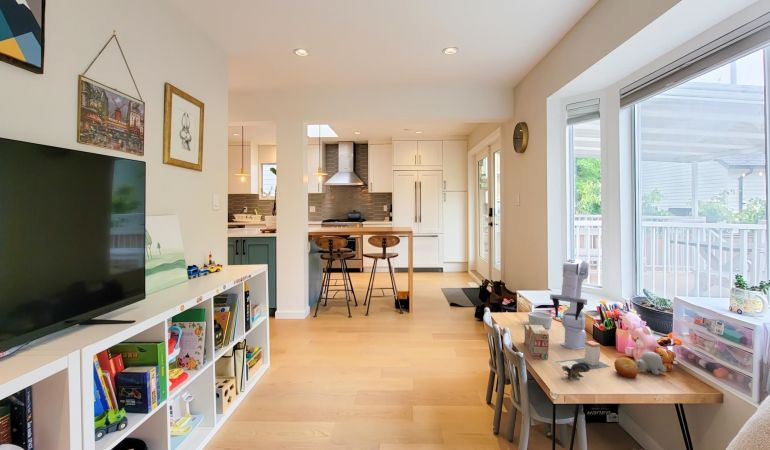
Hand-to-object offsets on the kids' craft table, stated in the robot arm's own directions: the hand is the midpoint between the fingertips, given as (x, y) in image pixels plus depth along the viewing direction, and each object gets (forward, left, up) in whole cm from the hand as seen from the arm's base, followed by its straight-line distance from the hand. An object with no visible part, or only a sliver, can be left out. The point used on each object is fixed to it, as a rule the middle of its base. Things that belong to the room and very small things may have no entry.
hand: (566, 317), depth 152 cm
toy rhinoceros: (-28, +15, -21) cm, 38 cm away
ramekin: (-27, -47, -21) cm, 58 cm away
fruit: (-16, +15, -21) cm, 31 cm away
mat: (-7, +3, -21) cm, 22 cm away
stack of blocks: (+2, -16, -21) cm, 27 cm away
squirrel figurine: (+6, +12, -21) cm, 25 cm away
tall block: (-12, +3, -20) cm, 24 cm away
